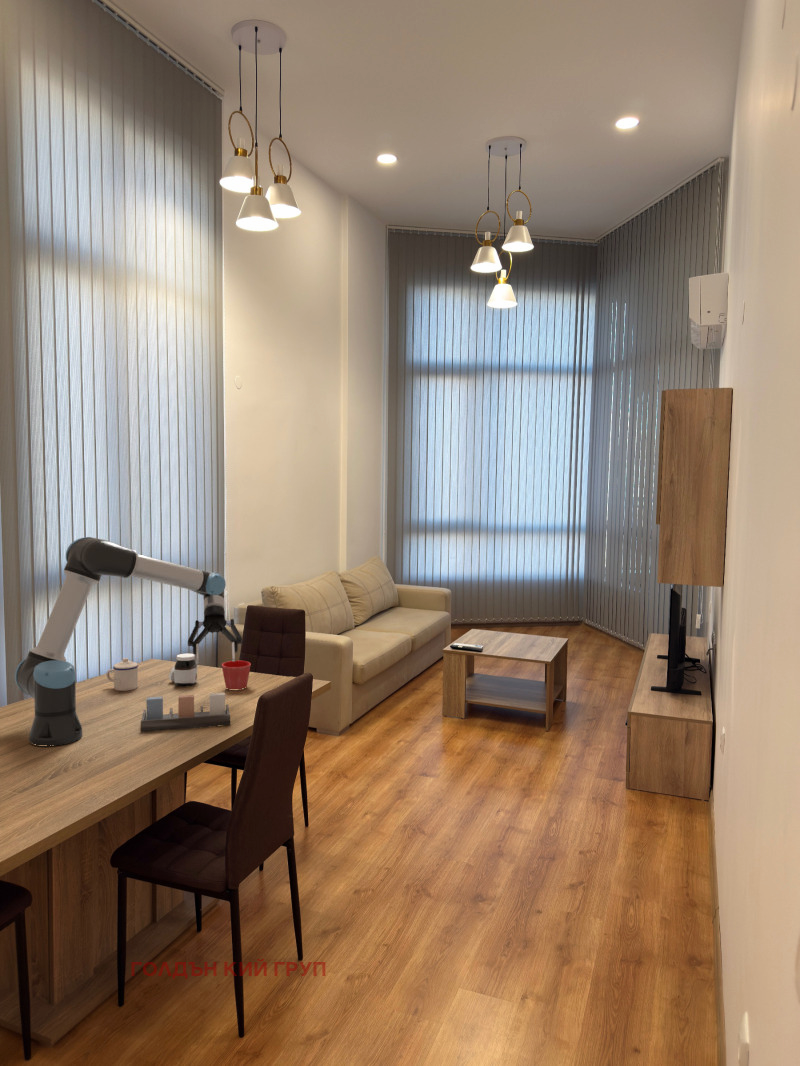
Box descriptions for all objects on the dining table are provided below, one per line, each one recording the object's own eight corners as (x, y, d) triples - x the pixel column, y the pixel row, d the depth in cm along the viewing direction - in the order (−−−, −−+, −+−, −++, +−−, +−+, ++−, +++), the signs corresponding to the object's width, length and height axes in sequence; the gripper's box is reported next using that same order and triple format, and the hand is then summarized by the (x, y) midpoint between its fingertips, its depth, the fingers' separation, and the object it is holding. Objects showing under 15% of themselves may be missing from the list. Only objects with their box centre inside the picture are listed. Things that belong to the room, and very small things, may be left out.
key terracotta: (178, 716, 251) (178, 695, 250) (194, 715, 252) (194, 694, 252) (178, 719, 248) (178, 697, 248) (194, 717, 250) (194, 696, 249)
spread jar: (191, 688, 291) (190, 658, 290) (162, 687, 292) (162, 658, 291) (201, 680, 303) (201, 651, 302) (173, 679, 304) (173, 650, 303)
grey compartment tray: (143, 720, 252) (143, 710, 252) (228, 714, 260) (228, 704, 259) (140, 731, 241) (140, 721, 240) (230, 725, 248) (230, 715, 248)
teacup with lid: (142, 685, 294) (141, 655, 294) (133, 691, 285) (132, 661, 284) (111, 684, 295) (111, 655, 294) (102, 691, 286) (101, 660, 285)
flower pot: (244, 692, 286) (244, 667, 285) (217, 691, 287) (217, 666, 287) (254, 685, 296) (254, 661, 295) (228, 683, 298) (228, 659, 297)
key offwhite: (209, 714, 253) (209, 693, 253) (224, 713, 255) (224, 692, 254) (209, 716, 251) (209, 695, 250) (225, 715, 252) (224, 694, 252)
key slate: (147, 718, 248) (146, 697, 248) (163, 717, 249) (162, 696, 249) (146, 721, 246) (146, 699, 245) (162, 720, 247) (162, 698, 246)
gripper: (246, 614, 285) (249, 664, 271) (180, 617, 278) (180, 668, 265) (247, 603, 279) (250, 653, 266) (180, 605, 273) (180, 656, 259)
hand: (215, 660), depth 265 cm, fingers open, 12 cm apart
